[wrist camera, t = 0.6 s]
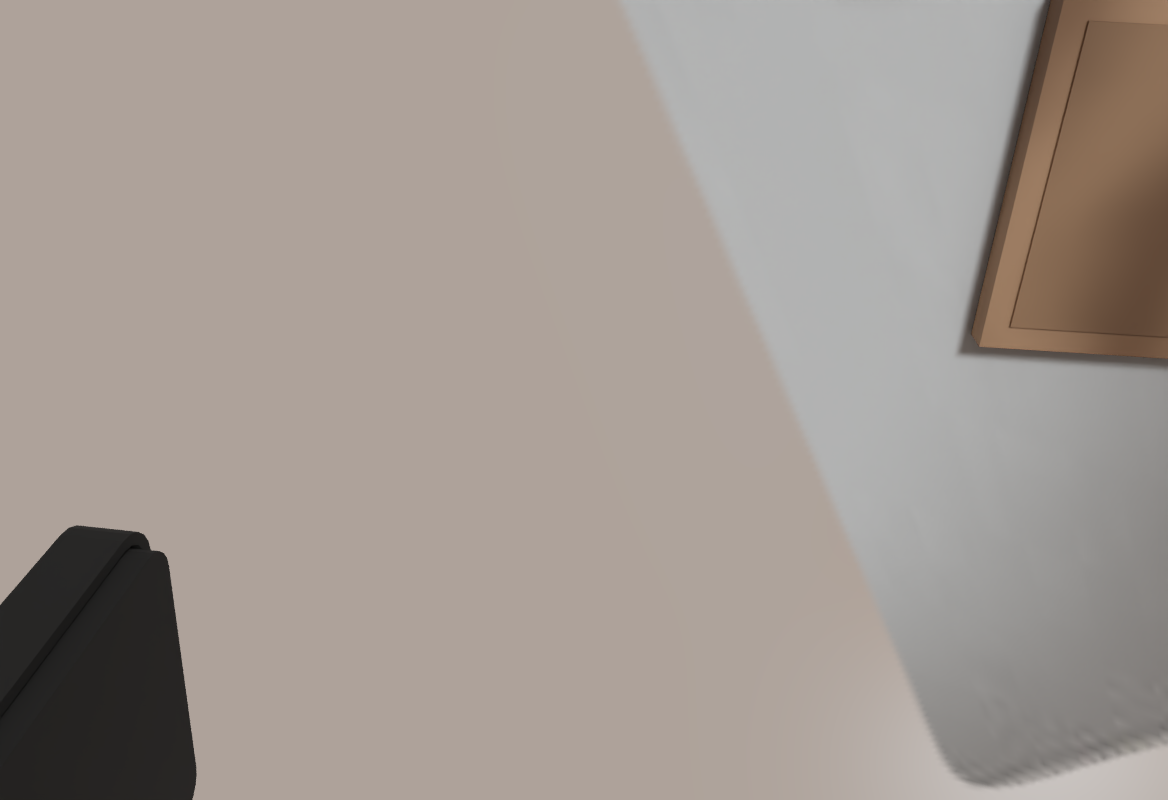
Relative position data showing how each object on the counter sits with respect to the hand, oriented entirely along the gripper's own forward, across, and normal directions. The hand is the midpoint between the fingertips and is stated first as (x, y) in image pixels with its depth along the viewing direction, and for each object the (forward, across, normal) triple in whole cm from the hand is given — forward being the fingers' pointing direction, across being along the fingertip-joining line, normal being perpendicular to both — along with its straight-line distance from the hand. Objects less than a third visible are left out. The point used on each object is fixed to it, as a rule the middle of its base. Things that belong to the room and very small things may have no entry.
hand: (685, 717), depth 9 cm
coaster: (+26, -16, +1) cm, 31 cm away
